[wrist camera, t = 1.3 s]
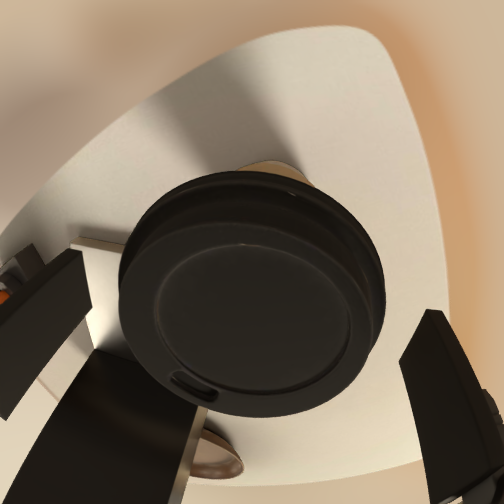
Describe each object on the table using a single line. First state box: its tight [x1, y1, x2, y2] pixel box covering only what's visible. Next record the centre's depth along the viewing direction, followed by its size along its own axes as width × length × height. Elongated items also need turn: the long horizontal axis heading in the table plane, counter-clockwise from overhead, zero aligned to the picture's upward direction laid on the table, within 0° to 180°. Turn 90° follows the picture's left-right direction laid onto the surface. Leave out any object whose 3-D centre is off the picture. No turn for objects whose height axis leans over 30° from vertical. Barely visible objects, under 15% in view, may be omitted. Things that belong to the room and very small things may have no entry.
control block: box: [0, 244, 45, 296], centre depth 28 cm, size 10×8×5 cm
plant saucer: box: [189, 429, 244, 480], centre depth 40 cm, size 21×21×3 cm
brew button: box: [0, 290, 10, 304], centre depth 25 cm, size 4×4×2 cm
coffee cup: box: [118, 160, 386, 418], centre depth 15 cm, size 9×9×15 cm
